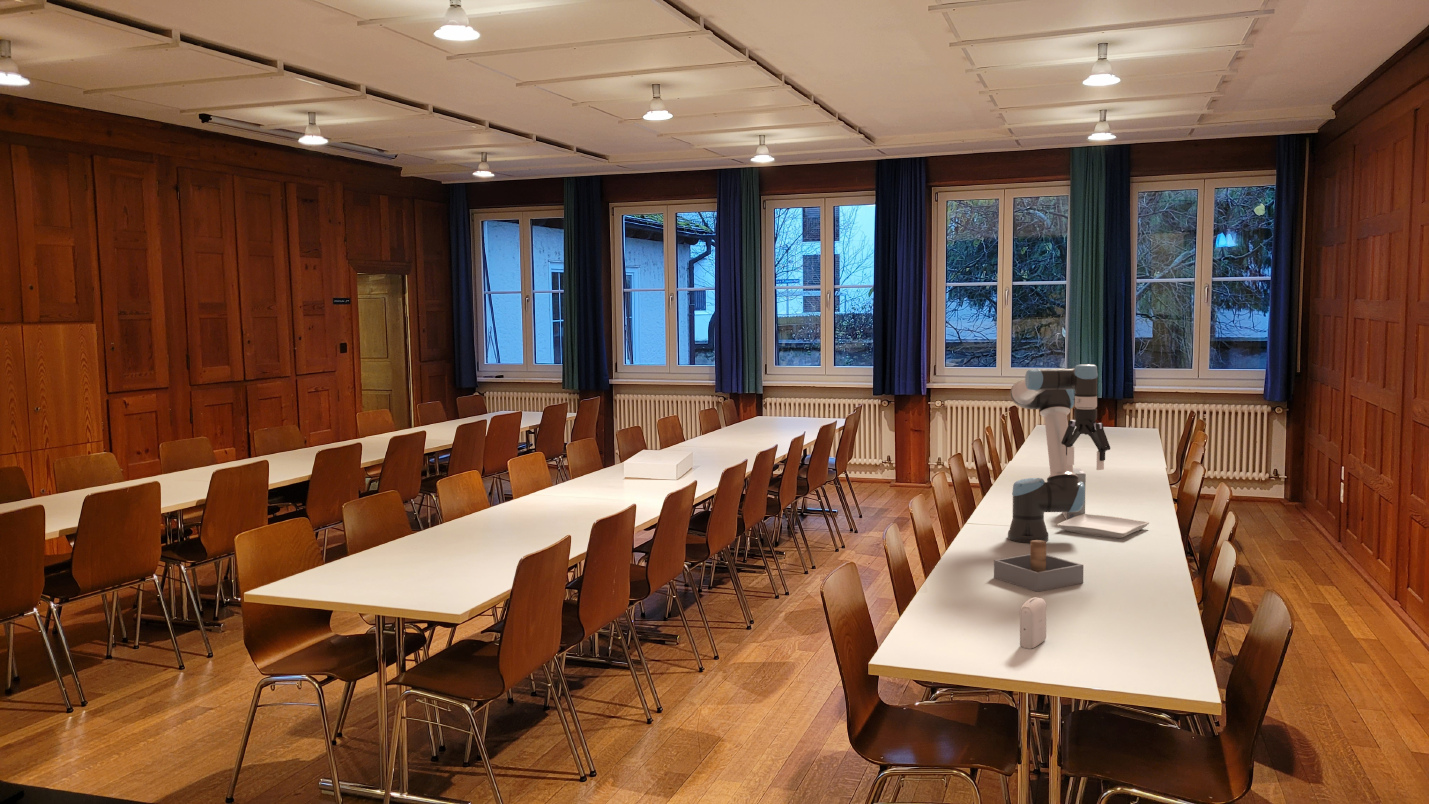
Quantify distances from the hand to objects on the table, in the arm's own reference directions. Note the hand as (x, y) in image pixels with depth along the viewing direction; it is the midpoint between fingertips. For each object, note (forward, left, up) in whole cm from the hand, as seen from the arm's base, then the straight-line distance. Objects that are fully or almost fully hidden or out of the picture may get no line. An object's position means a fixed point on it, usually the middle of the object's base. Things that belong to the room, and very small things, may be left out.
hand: (1085, 467), depth 365 cm
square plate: (-27, +39, -33) cm, 58 cm away
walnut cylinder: (+14, -36, -32) cm, 50 cm away
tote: (+14, -36, -33) cm, 51 cm away
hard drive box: (-52, +49, -33) cm, 79 cm away
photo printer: (+60, -83, -33) cm, 108 cm away
